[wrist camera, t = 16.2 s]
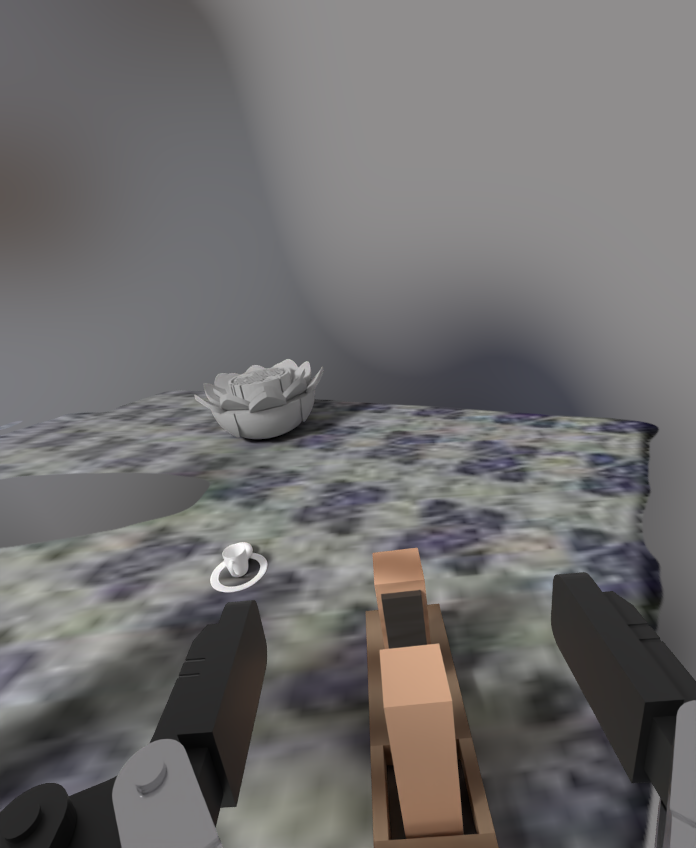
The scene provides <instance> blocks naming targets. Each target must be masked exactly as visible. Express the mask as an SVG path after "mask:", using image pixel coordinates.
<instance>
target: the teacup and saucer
mask: <svg viewBox="0 0 696 848" xmlns="http://www.w3.org/2000/svg"><path fill="white" fill-rule="evenodd" d="M252 552H253V548H252V546H251V545H250V544H249V543H246V542H240V543H237V544H233V545H230V546H228V547H227V548H225V549H224V551H223V553H222V555H223V558H224V561H223V562H222V563H221V564H219V565H218V566H217V567H216V568H215V570H214V571H213V573H212V575H211V579H210V582H211V585H212V587H213V588H214V589H216V590H218V591H221V592H236V591H240V590H243V589H246V588H248V587H250V586H252V585H253V584H255V583H256V582H257V581H259V580H260V579H261V578H262V577H263V575H264V574H265V572H266V570H267V561H266V559H265V558H264V557H263V556H262V555H260V554H257V553H252ZM249 558H252V559H255V560H257V561H258V562H259V564H260V570H259V572H258V574H257V575H256V576H255V577H254V578H253V579H252V580H251V581H249V582H247V583H245V584H243V585H240V586H236V587H227V586H223V585H222V584H220V582H219V580H218V576H219V573H220V572H221V570H222V569H223V568H224V567H225V566H227V568H228V570H229V572H230V573H231V575H232V576H234V577H241V576H243V575H245V574H246V573H247V571H248V559H249Z"/></svg>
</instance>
